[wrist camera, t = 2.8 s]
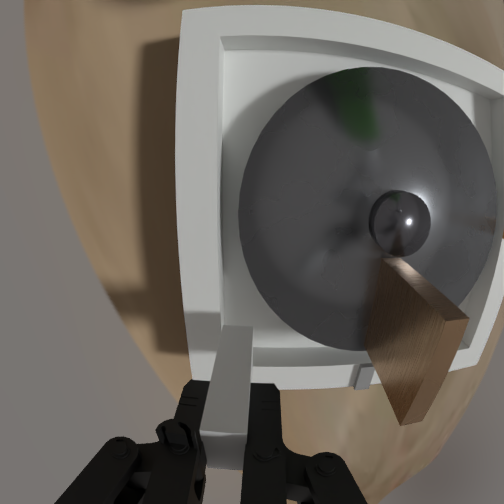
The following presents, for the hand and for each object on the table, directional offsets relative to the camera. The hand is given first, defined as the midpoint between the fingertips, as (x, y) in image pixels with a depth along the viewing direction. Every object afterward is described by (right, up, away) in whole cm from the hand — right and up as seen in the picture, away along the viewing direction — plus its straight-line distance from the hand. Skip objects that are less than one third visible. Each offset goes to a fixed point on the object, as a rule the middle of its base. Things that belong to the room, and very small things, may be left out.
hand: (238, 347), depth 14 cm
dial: (+8, +7, +1) cm, 11 cm away
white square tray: (+8, +8, +2) cm, 11 cm away
